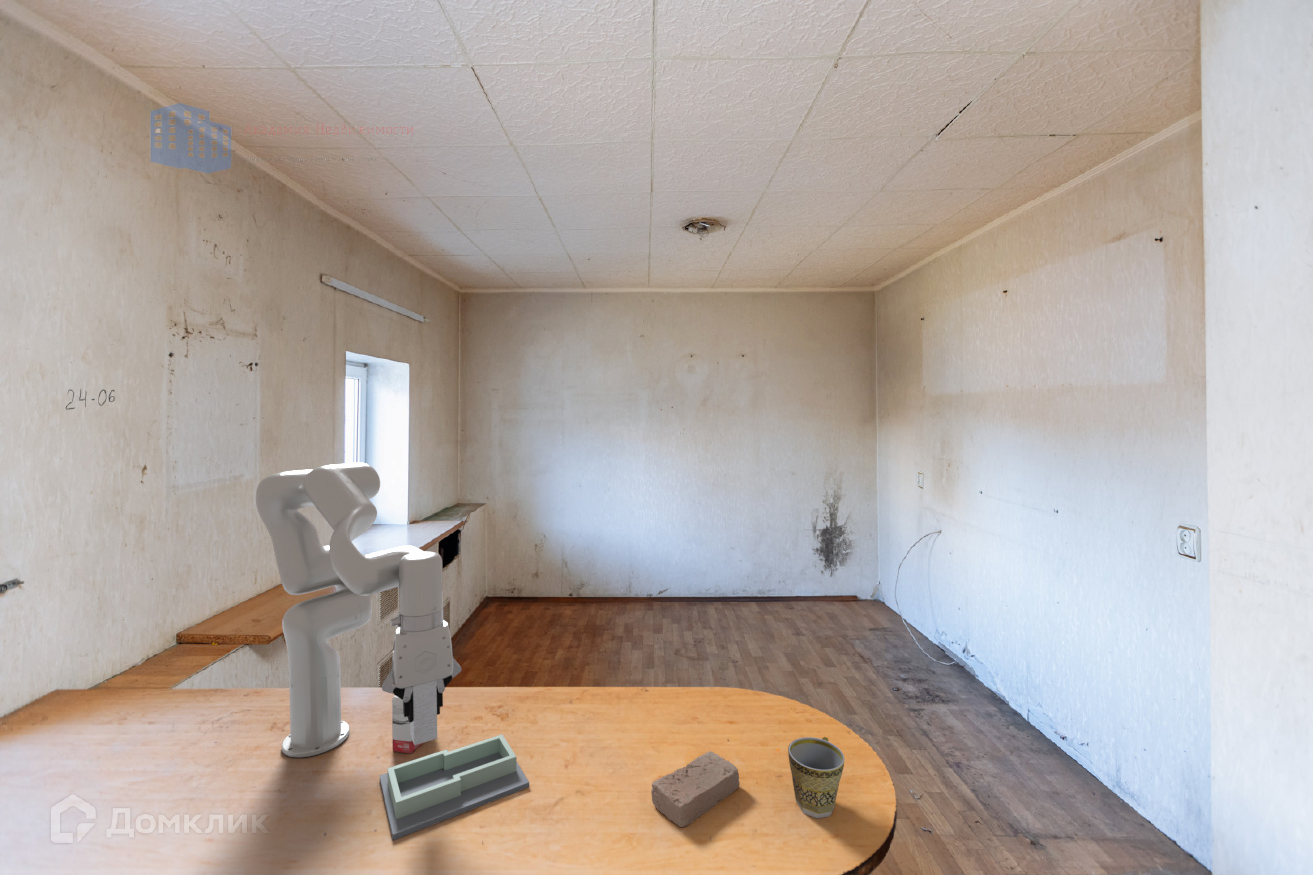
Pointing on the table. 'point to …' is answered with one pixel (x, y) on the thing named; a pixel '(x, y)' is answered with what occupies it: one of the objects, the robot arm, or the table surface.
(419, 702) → the metal peg
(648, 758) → the table surface
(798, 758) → the ceramic cup
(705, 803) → the brick
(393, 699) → the ink box
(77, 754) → the table surface
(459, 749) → the green walled fixture tray
